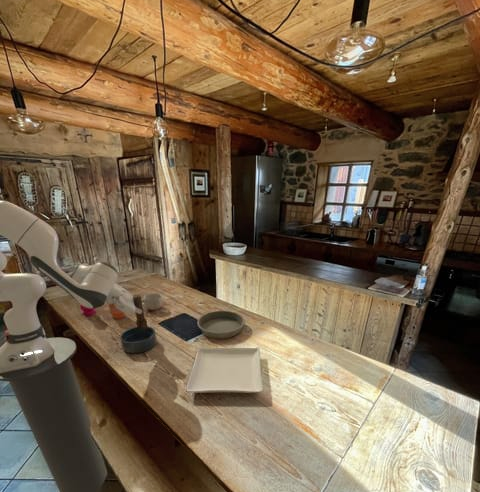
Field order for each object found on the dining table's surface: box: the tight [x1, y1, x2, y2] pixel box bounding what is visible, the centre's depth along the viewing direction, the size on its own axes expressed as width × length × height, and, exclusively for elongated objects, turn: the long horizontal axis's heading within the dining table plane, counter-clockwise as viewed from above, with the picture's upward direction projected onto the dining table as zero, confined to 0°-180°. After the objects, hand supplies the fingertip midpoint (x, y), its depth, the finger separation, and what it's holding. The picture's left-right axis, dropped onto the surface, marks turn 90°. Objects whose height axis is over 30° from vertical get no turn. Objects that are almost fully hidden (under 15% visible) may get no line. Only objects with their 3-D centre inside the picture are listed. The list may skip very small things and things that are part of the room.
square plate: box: [185, 347, 264, 394], centre depth 105 cm, size 27×27×4 cm
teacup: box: [141, 292, 163, 311], centre depth 161 cm, size 14×11×8 cm
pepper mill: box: [80, 304, 96, 317], centre depth 154 cm, size 7×7×20 cm
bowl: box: [119, 326, 157, 354], centre depth 124 cm, size 15×15×6 cm
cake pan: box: [196, 310, 246, 339], centre depth 139 cm, size 25×25×4 cm
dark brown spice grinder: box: [132, 294, 149, 330], centre depth 120 cm, size 5×5×16 cm
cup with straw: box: [106, 303, 125, 320], centre depth 150 cm, size 9×9×18 cm
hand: (140, 310), depth 120 cm, fingers closed on dark brown spice grinder, 3 cm apart
